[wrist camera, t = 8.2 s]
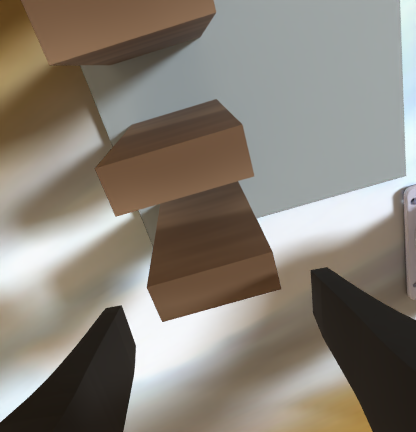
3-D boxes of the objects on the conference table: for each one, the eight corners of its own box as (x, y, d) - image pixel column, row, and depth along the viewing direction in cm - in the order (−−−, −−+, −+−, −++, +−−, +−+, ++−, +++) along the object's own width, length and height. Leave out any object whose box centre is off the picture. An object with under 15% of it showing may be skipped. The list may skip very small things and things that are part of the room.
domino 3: (243, 204, 22) (281, 289, 14) (169, 226, 22) (162, 321, 14) (237, 178, 21) (272, 251, 13) (160, 201, 21) (146, 287, 13)
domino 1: (200, 36, 18) (216, 12, 10) (110, 65, 18) (49, 65, 10) (190, -3, 17) (198, -66, 9) (96, 27, 17) (18, -6, 9)
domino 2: (224, 130, 20) (254, 176, 12) (142, 154, 20) (115, 216, 12) (216, 98, 19) (242, 124, 11) (131, 124, 19) (94, 168, 11)
